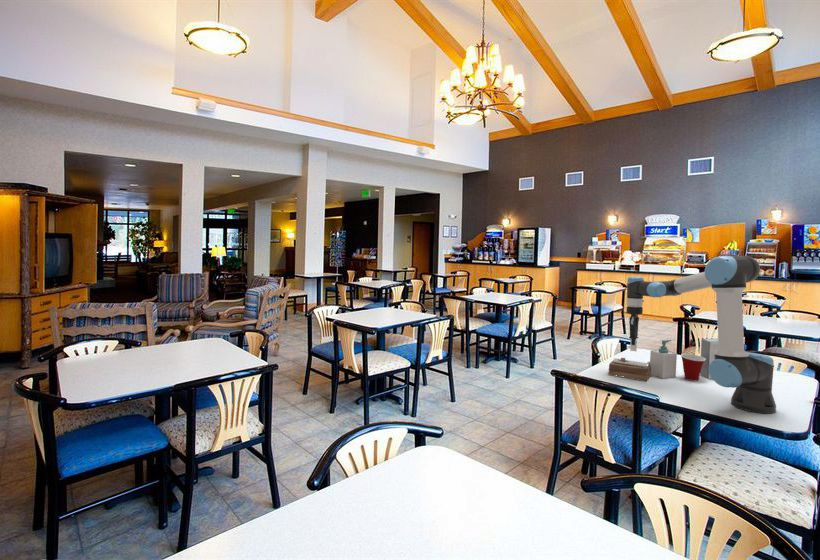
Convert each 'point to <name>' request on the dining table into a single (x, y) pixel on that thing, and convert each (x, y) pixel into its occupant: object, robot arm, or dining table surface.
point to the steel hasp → (631, 362)
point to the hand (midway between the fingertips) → (633, 350)
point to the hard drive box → (708, 355)
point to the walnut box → (630, 370)
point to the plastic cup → (692, 366)
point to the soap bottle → (663, 362)
